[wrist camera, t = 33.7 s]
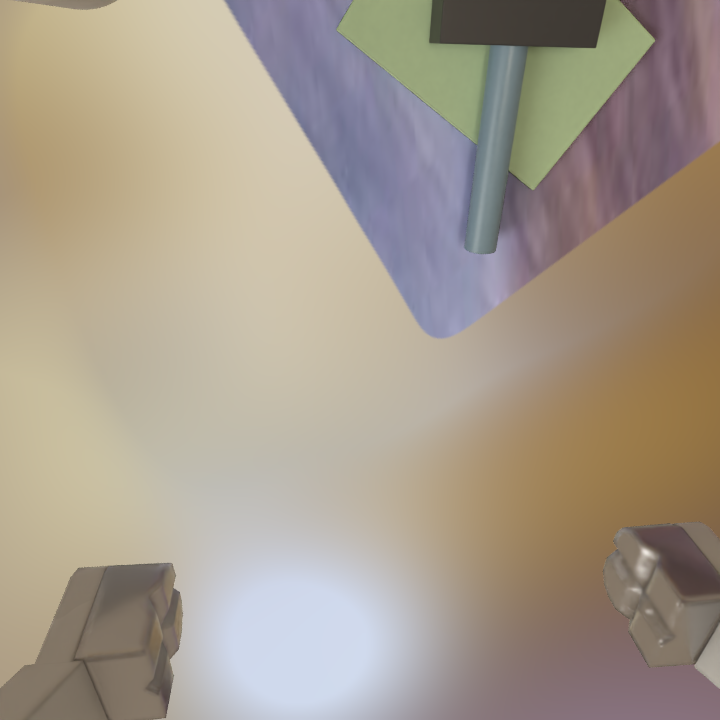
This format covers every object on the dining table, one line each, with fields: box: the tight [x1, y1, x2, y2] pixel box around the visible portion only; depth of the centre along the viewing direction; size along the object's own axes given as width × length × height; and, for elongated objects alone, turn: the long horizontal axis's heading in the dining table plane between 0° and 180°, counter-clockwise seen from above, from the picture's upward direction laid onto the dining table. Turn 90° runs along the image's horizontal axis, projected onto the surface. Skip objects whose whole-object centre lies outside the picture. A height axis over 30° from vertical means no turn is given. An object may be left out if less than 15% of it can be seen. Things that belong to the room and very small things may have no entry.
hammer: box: [429, 0, 606, 254], centre depth 37 cm, size 16×10×3 cm, turn 179°
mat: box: [336, 0, 655, 190], centre depth 35 cm, size 18×12×1 cm, turn 55°
